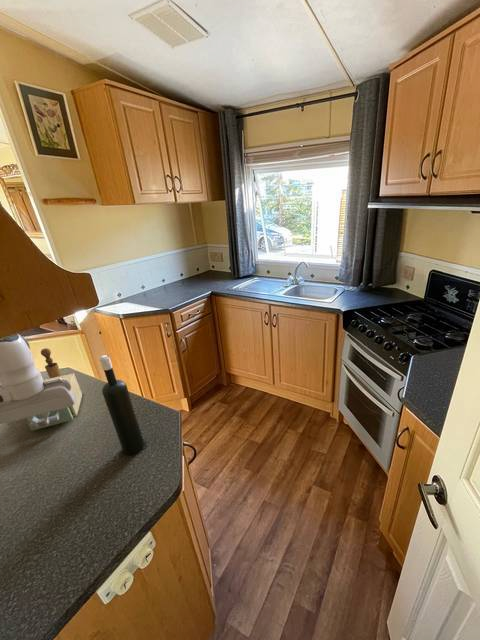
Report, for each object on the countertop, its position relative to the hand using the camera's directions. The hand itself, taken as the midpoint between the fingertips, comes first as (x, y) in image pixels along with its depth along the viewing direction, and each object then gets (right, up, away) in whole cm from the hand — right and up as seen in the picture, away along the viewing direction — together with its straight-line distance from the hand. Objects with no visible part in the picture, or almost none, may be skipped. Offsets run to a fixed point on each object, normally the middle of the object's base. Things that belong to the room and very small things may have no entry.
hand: (43, 424), depth 88 cm
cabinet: (-6, +1, +15) cm, 16 cm away
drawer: (-4, 0, +10) cm, 11 cm away
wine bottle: (+29, -6, -4) cm, 30 cm away
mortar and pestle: (-15, +6, +28) cm, 32 cm away
